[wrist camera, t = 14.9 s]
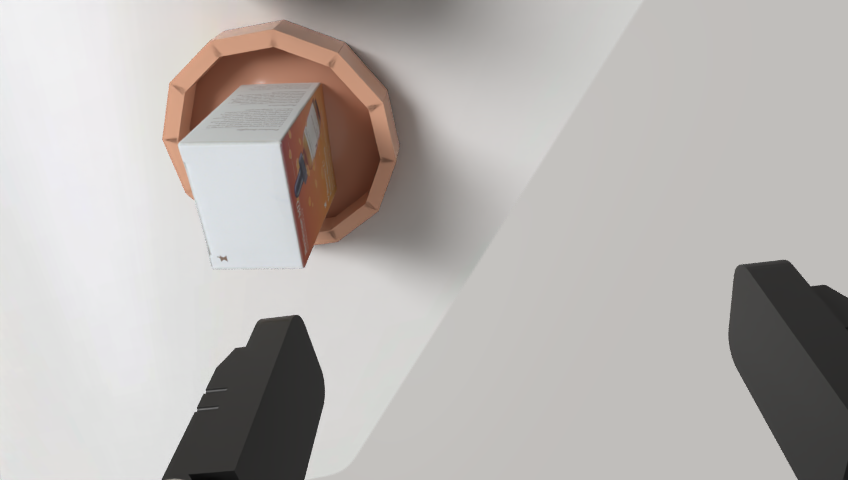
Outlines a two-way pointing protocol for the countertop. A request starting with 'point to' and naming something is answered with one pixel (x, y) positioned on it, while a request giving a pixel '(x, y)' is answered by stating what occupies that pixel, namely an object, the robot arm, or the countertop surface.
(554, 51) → the countertop surface
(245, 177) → the small box
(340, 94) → the round tray
